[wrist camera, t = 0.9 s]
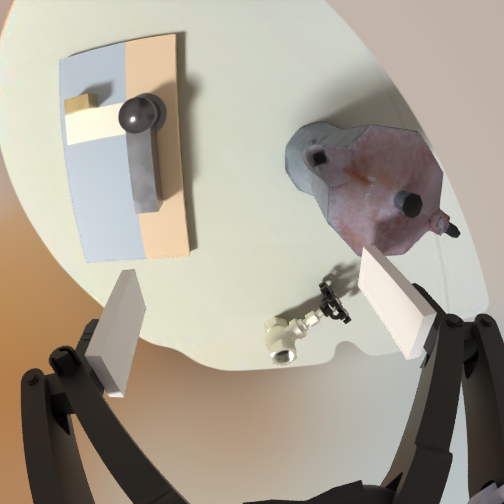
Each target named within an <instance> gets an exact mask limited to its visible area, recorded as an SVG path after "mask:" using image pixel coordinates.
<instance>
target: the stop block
mask: <svg viewBox="0 0 504 504" xmlns="http://www.w3.org/2000/svg"><path fill="white" fill-rule="evenodd" d="M64 108H65V114H70V113H77V112H81V111H85V110H89V109H94V108H98V107H97V94H90V93H87V94H83V95H79V96H76V97H72V98H68V99H65V100H64Z"/></svg>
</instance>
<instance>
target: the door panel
mask: <svg viewBox="0 0 504 504" xmlns="http://www.w3.org/2000/svg"><path fill="white" fill-rule="evenodd" d="M87 93H90V94H97V107H98V108H94V109H89V110H85V111H81V112H77V113H70V114H65V108H64V100H65V99H68V98H72V97H76V96H79V95H83V94H87ZM59 97H60V116H61V129H62V139H63V148H64V157H65V164H66V171H67V177H68V184H69V189H70V195H71V200H72V205H73V210H74V215H75V220H76V224H77V229H78V233H79V237H80V241H81V245H82V249H83V253H84V256H85V260H86V263H97V262H112V261H126V260H141V259H155V258H170V257H184V256H190V244H189V236H188V227H187V217H186V208H185V197H184V186H183V175H182V162H181V148H180V132H179V114H178V90H177V36H176V34H170V35H162V36H155V37H149V38H143V39H138V40H133V41H128V42H123V43H118V44H114V45H110V46H106V47H102V48H98V49H94V50H90V51H87V52H83V53H80V54H77V55H73V56H70V57H67V58H64V59H61V60H59ZM134 97H141V98H146V99H151V100H153V101H155V102H156V103H157V104H158V106H159V108H160V111H161V116H160V120H159V122H158V124H157V125H156V128H157V142H158V154H159V166H160V176H161V185H162V194H163V204H162V206H161V208H160V210H159V212H151V213H140V214H135V208H134V202H133V195H132V188H131V180H130V172H129V163H128V154H127V143H126V132H125V130H124V129H123V128H122V127H121V126H120V123H119V120H118V114H119V110H120V108H121V106H122V105H123V104H124V103H125V102H126V101H127V100H129V99H131V98H134Z"/></svg>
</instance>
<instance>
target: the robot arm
mask: <svg viewBox="0 0 504 504" xmlns="http://www.w3.org/2000/svg"><path fill="white" fill-rule="evenodd" d="M358 287H359V288H360V290H361V291H362V292H363V294H364V295H365V297H366V298H367V300H368V301H369V303H370V304H371V306H372V307H373V309H374V310H375V311H376V313H377V314H378V316H379V317H380V319H381V320H382V322H383V323H384V325H385V326H386V328H387V330H388V331H389V333H390V334H391V336H392V337H393V339H394V340H395V342H396V343H397V345H398V347H399V348H400V350H401V351H402V353H403V354H404V356H405V358H406V359H407V360H410V359H413V358H416V357H419V356H420V354H421V351H422V349H423V348H424V349H425V350H426V352H427V354H426V356H425V358H424V361H423V362H422V365H421V367H420V368H422V367H423V368H422V372H421V376H420V380H419V384H418V388H417V391H416V395H415V399H414V402H413V406H412V409H411V412H410V416H409V419H408V422H407V425H406V428H405V431H404V434H403V436H402V440H401V442H400V445H399V447H398V450H397V453H396V455H395V458H394V460H393V463H392V465H391V468H390V470H389V472H388V474H387V475H386V477H385V478H384V480H383V482H382V483H381V485H380V486H376V485H363V484H362V481H361V480H359V481H356V482H353V483H349V484H345V485H342V486H338V487H335V488H332V489H330V490H328V491H326V492H324V493H322V494H320V495H318V496H316V497H313V498H311V499H309V500H306V501H289V500H266V501H257V502H246V503H243V504H439V503H440V500H441V497H442V494H443V491H444V488H445V485H446V481H447V478H448V474H449V471H450V467H451V464H452V458H453V455H452V453H450V452H449V447H450V443H451V439H452V434H453V429H454V424H455V419H456V413H457V406H458V401H459V393H460V385H461V382H462V388H463V395H464V404H465V414H466V425H467V442H468V490H469V498H470V500H469V502H468V503H467V504H504V342H503V339H502V337H501V334H500V332H499V329H498V326H497V324H496V321H495V320H494V319H493V318H492V317H491V316H489V315H487V314H478V315H477V316H476V318H475V321H474V322H463V320H462V319H461V318H460V317H459V316H457V315H454V314H446V313H445V312H444V310H443V309H442V308H441V307H440V306H439V305H438V304H437V303H436V301H435V300H434V299H432V297H431V296H430V295H428V293H427V292H426V291H425V289H424V288H423V287H421V286H419V285H418V284H416V283H413V284H411V283H410V282H409V281H408V280H407V279H406V278H405V277H404V276H403V274H402V273H401V272H400V271H399V270H398V269H397V268H396V267H395V266H394V265H393V264H392V263H391V262H390V261H389V260H388V259H387V258H386V257H385V256H384V255H383V254H382V253H381V252H380V251H379V249H378V248H377V247H376V246H375V245H373V246H363V252H362V260H361V267H360V274H359V281H358ZM145 311H146V306H145V303H144V300H143V297H142V293H141V290H140V286H139V283H138V279H137V276H136V272H135V269H132V270H122V272H121V274H120V276H119V278H118V280H117V282H116V285H115V287H114V289H113V291H112V293H111V295H110V297H109V299H108V302H107V304H106V306H105V308H104V311H103V313H102V315H101V317H100V319H92V320H91V321H90V322H89V323H88V324H87V325H86V327H85V329H84V331H83V335H82V336H81V338H80V341H79V343H78V345H77V347H76V350H74V349H73V348H72V347H70V346H62V347H59V348H57V349H56V350H54V351H53V352H52V354H51V355H50V357H49V364H50V365H51V367H52V368H53V370H54V371H55V373H53V374H48V375H44V373H43V372H42V371H41V370H40V369H37V368H35V369H31V370H29V371H27V372H26V373H25V374H24V375H23V377H22V380H21V416H22V431H23V442H24V452H25V460H26V467H27V473H28V479H29V484H30V489H31V494H32V499H33V503H34V504H95V502H94V499H93V496H92V493H91V491H90V488H89V485H88V482H87V478H86V475H85V472H84V469H83V465H82V462H81V458H80V455H79V450H78V447H77V443H76V438H75V434H74V429H73V425H72V420H71V414H76V416H77V417H78V419H79V421H80V423H81V425H82V427H83V428H84V431H85V432H86V434H87V436H88V438H89V439H90V441H91V443H92V444H93V446H94V448H95V449H96V451H97V452H98V454H99V456H100V457H101V459H102V460H103V462H104V464H105V465H106V467H107V468H108V470H109V471H110V473H111V474H112V475H113V477H114V478H115V480H116V481H117V482H118V484H119V485H120V487H121V488H122V489H123V491H124V492H125V493H126V494H127V496H128V497H129V499H130V500H131V501H132V502H133V504H190V503H189V502H188V501H187V500H186V499H185V498H184V497H183V496H182V495H181V494H180V493H179V492H178V491H177V490H176V489H175V488H174V487H173V486H172V485H171V484H170V483H169V482H168V480H167V479H165V477H164V476H163V475H162V474H161V473H160V472H159V470H158V469H157V468H156V467H155V466H154V465H153V464H152V462H151V461H150V460H149V459H148V458H147V457H146V455H145V454H144V453H143V451H142V450H141V449H140V448H139V446H138V445H137V444H136V443H135V442H134V440H133V439H132V437H131V436H130V435H129V433H128V432H127V431H126V430H125V428H124V427H123V425H122V424H121V423H120V421H119V420H118V418H117V417H116V416H115V414H114V413H113V411H112V410H111V408H110V407H109V405H108V404H107V402H106V401H105V399H104V398H103V393H104V389H105V391H106V392H107V394H108V395H109V397H124V396H125V391H126V386H127V381H128V377H129V373H130V369H131V364H132V360H133V356H134V352H135V348H136V344H137V340H138V336H139V333H140V329H141V325H142V321H143V318H144V314H145Z"/></svg>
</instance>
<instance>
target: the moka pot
mask: <svg viewBox="0 0 504 504" xmlns="http://www.w3.org/2000/svg"><path fill="white" fill-rule="evenodd" d="M285 169H286V172H287V174H288V175H289V177H290V178H291V180H292V182H293V183H294V184H295V186H296V187H297V188H298V189H299V190H300V191H303V192H305V193H308V194H310V195H313V196H314V197H315V199H316V201H317V203H318V204H319V206H320V208H321V210H322V213H323V215H324V217H325V219H326V221H327V223H328V224H329V225H330V226H331V227H332V228H333V229H334V230H335V231H336V232H337V233H338V234H339V235H340V236H341V238H342V239H343V240H344V241H345V242H346V243H347V244H348V245H349V246H350V247H351V249H352V250H353V251H354V252H355V253H356V254H357V255H358V256H360V257H362V252H363V246H373V245H375V246H376V247H377V248H378V249H379V251H380V252H381V253H382V254H383V255H384V256H392V255H402V254H405V253H406V252H407V251H408V250H409V249H410V248H411V247H412V246H413V245H414V244H415V243H416V242H417V241H418V240H419V239H420V238H421V237H422V236H423V235H424V234H425V233H426V232H427V231H432V232H434V233H436V234H438V235H440V236H441V235H442V233H446V234H448V235H449V236H451V237H452V238H457V237H458V236H459V235H460V232H459V230H458V228H457V227H456V226H455V225H453V224H452V223H450V222H449V220H450V217H449V216H448V215H447V214H445V213H444V212H443V211H442V210H440V197H441V189H442V180H443V172H442V170H441V168H440V166H439V164H438V163H437V161H436V159H435V157H434V156H433V154H432V152H431V150H430V149H429V147H428V145H427V144H426V143H425V141H424V140H423V138H422V136H421V135H420V134H419V133H418V132H417V131H412V130H406V129H400V128H393V127H386V126H378V125H365V126H360V127H354V128H350V129H344V130H342V129H340V128H338V127H335V126H333V125H330V124H328V123H326V122H321V123H315V124H311V125H306V126H304V127H302V128H300V129H299V130H298V131H297V132H296V133H295V134H294V136H293V137H292V138H291V140H290V141H289V143H288V144H287V146H286V151H285Z"/></svg>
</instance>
